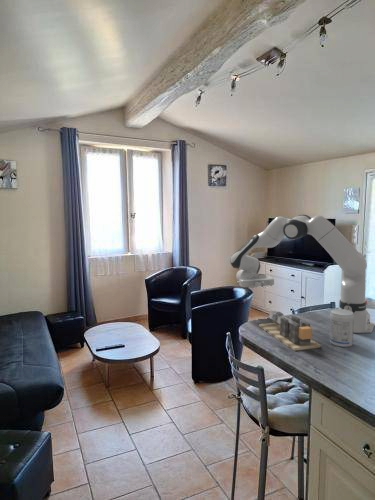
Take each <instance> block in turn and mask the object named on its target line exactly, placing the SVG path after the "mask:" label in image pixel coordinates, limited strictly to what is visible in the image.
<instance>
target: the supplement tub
mask: <svg viewBox="0 0 375 500" xmlns="http://www.w3.org/2000/svg"><path fill="white" fill-rule="evenodd" d="M329 314H330V315H329V316H330V317H329V319H330V320H329V342H330V343H331V344H332V345H334V346H336V347H343V348H349V347H352V346H353V343H354V332H353V325H354V316H353V312H352V311H349V310H345V309H339V308H335V309H331V310H330V313H329Z"/></svg>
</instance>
